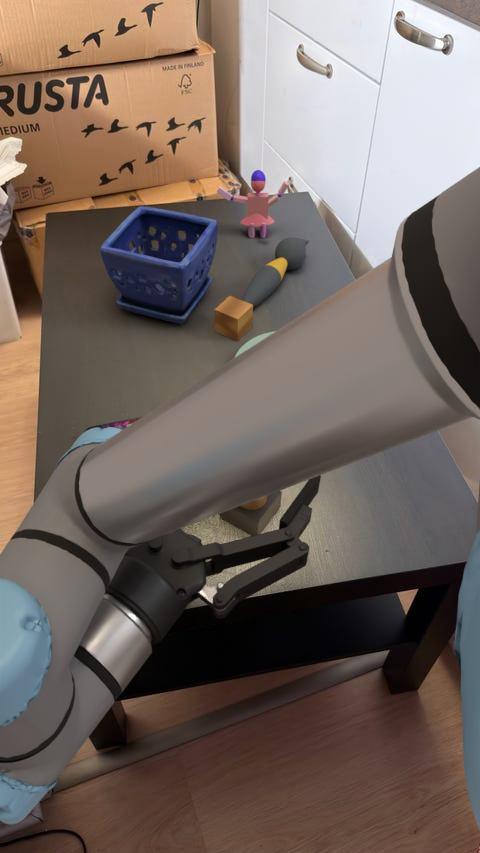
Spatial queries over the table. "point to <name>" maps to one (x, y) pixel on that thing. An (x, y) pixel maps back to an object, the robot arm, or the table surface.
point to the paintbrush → (276, 269)
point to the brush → (254, 513)
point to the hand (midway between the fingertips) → (257, 452)
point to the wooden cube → (233, 318)
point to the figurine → (256, 203)
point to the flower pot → (161, 262)
